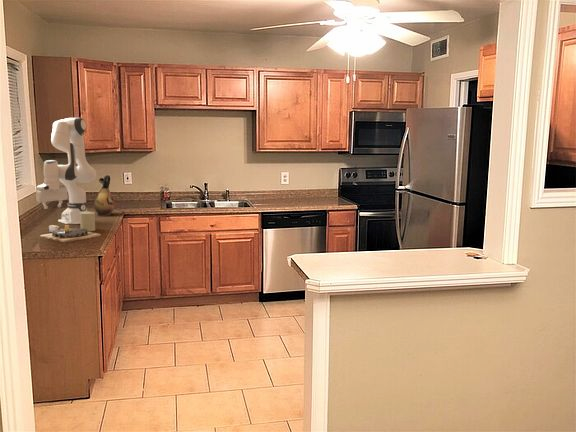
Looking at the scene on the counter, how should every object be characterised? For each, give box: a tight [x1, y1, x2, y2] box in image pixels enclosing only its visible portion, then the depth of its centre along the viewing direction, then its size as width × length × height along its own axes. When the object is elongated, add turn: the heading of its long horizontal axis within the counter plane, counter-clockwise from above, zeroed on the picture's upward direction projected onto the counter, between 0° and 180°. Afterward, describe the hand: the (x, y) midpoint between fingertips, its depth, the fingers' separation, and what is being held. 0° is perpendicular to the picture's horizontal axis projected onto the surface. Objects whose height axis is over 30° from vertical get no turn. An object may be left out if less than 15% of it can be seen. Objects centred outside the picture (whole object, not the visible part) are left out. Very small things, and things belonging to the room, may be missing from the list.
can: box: [79, 211, 97, 232], centre depth 351 cm, size 9×9×12 cm
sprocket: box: [51, 224, 89, 238], centre depth 331 cm, size 20×20×7 cm
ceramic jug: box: [93, 174, 116, 217], centre depth 408 cm, size 17×15×30 cm
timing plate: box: [38, 226, 101, 243], centre depth 332 cm, size 25×25×4 cm
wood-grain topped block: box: [48, 224, 60, 233], centre depth 343 cm, size 6×3×4 cm, turn 57°
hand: (52, 208), depth 341 cm, fingers open, 8 cm apart
